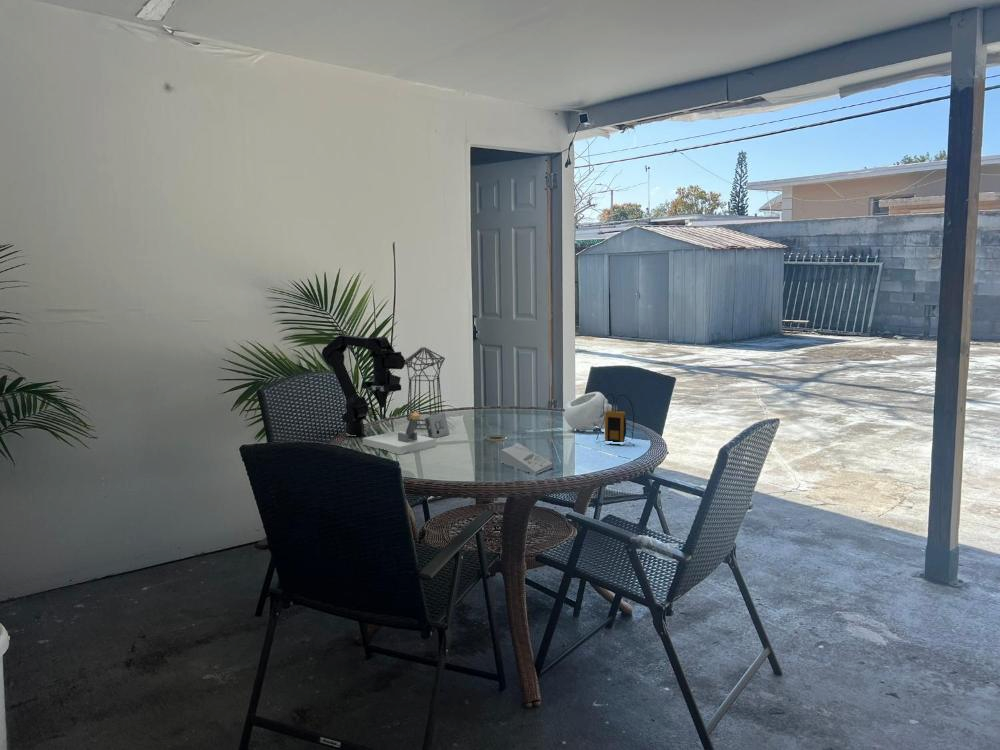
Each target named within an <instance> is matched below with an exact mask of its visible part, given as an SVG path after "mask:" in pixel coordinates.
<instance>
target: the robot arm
mask: <svg viewBox="0 0 1000 750" xmlns="http://www.w3.org/2000/svg"><path fill="white" fill-rule="evenodd" d="M348 346H351V347H358V348H364V349H366V350H368V351H370V353H369V354H368V355H367V357H368V358H372V368H373V369H372V371H370V372H371V373H370V374H371V375H373V379H372V380H364V381H363V382H362V383H361V387H362V389H366V390H367V389H368V388H372V389H370V392H371V393H372V394H373V396H374V398H375V399H376V401H377V404H378V405H379V407H380V408H384V407H385V405H386V401H387V399H388V395H389V394H390V393H391V392H392V393H394V392H399V391H402V385H401V383H400V382H401V378H402V377H400V376H398V375H394V374H392V372H391V371H390V370H402V369H404V367H405V366H406V365H405V359H406V358H405V357H404V355H402V352H401V351H395V350H394V348H393V346H392V345H391V343H390V341H389V339H388V337H386V336H376V337H366V336H365V337H364V336H357V335H349V334H339V335H338V336H336V338H334V339H333V340H332V341H331V342H330V343H328V344H327V345H326V346H324V347H323V348H322V351H321V357H322V359H323V360H324V362H325V363H326V365H328V366H329V367H330V368H331V369H332V370H333V372H334V375H335V377H336V379H337V382H338V384H339V386H340V388H341V390H342V393H343V395H344V398H345V409H346V412H344V414H343V415H342V416H341V418H342V422H343V423H345V429H346V431H345V432H346V433H348V434H350V435H356V436H360V437H362V436H364V435H366V432H365V424H364V420H366V418H367V415H368V413H369V404H368V402H367V401H366V398H365V396H360V395H359V394H358V393H357V391H356V389H355V385H354V384H353V382H352V379H351V377H350V374H349V372H348V370H347V368H346V365H345V354H344V353H345V351H347V349H348ZM346 433H345V434H346ZM363 434H364V435H363ZM361 435H362V436H361Z"/></svg>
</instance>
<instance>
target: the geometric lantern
mask: <svg viewBox="0 0 1000 750" xmlns="http://www.w3.org/2000/svg"><path fill="white" fill-rule="evenodd" d="M424 355H425V357H424ZM420 356H421V357H420ZM404 359H405V366H406V368H407V376H408V378H407V379H408V393H407V394H408V395H407V408H406V409H407V410H406V411H407V412H406V420H407V421H408V422H409V421H410V418H411V417H410V415H411V413H412V412H413V413H416V411H415V410H416V395H417V394H416V393H417V390H416V389H417V381H418V413H419V414H420V415H429V416H430V415H434V414H439V413H443V404H442V394H441V392H442V391H441V381H440V374H441V373H440V372H441V368H442V365H443V364H444V362H445V360H446V358H445V357H444V356H442V355H439V354H438V353H437V352H434V351H433V350H431V349H430V348H427V347H425V346H424V347H422V346H421V347H420V348H419V349H418V350H416V351H415V352H414V353H412V354H411V355H410V356H408V357H407V358H404ZM414 359H416V360H415V362H413V360H414ZM424 360H425V362H424ZM428 360H430V361H431V362H428ZM418 361H419V362H420V363H417V362H418ZM435 365H436V366H437V370H436V367H435ZM416 366H419V367H420V369H416ZM422 366H423V367H422ZM430 367H432V368H433V369H434V371H435V375H433V379H429V377H430V375H427V374H426V373H425V371H424V370H426V369H427V368H430ZM409 368H412V369H413V371H414V374H413V376H410V370H409ZM417 371H418V372H419V371H420V372H419V374H417ZM422 373H423V374H422ZM421 374H422V375H421ZM417 377H418V379H417ZM421 377H425V378H426V379H421ZM413 380H414V392H413V393H414V396H413V411H412V381H413ZM435 381H437V382H436V387H437V388H436V389H437V390H436V389H435ZM421 382H428V397H429V401H428V402H429V412H421ZM431 382H432V389H433V405H434V412H432V402H431V401H432V400H431ZM436 391H437V405H436ZM421 422H425V419H420V418H419V419H418V421H417V424H416V427H415V430H427V427H423V428H422V427H417V426H426V423H425V424H424V423H421Z"/></svg>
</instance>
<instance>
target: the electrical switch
mask: <svg viewBox="0 0 1000 750" xmlns="http://www.w3.org/2000/svg"><path fill="white" fill-rule="evenodd" d="M446 417H447V416H446V413H445V412H442V413H441V412H439V414H434V415H433V414H431V415H430V414H429V415H428V416H427V417H425V418H424V420H425V421H424V422H425V424H426V425H425V426H426V427H425V428H427V429H426V431H427V435H428V436H427V437H430V438H434V439H437V438H441V437H443V436H448V435H449V434H450V430H449V426H448V421H447V418H446Z"/></svg>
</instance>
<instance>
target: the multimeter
mask: <svg viewBox="0 0 1000 750" xmlns="http://www.w3.org/2000/svg"><path fill="white" fill-rule="evenodd" d="M609 395H611V396H612V398H613V406H612V408H613V409H612V410H611V411H610V410H608V411H606V412H605V414H604V420H605V433H604V442H605V441H613V442H624V441H625V442H626V434H627V419H626V412H625V411H618V403H615V396H614V394H612V393H608V394H607V395H606V396H605V398H606V399H607V397H608V396H609ZM621 396H623V397H626V398H627V399H628V401H629V403H630V405H631V409H632V416H633V419H632V420H633V423H632V430H634V427H635V412H634V408H633V404H632V402H631V400H630V398H629V397H628V396H627V395H624V394H620V395H618V396H617V398H616V400H618V399H619V397H621ZM604 400H605V399H604ZM603 412H604V402H603ZM603 423H604V421H603ZM602 425H603V424H602ZM601 428H602V426H601ZM600 430H601V429H599V432H598V434H597V437H596V440H598V439H599V435H600V433H601V431H600ZM631 435H632V436H631V439H633V438H634V437H633V436H634V431H632V433H631ZM596 440H595V441H596Z"/></svg>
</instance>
